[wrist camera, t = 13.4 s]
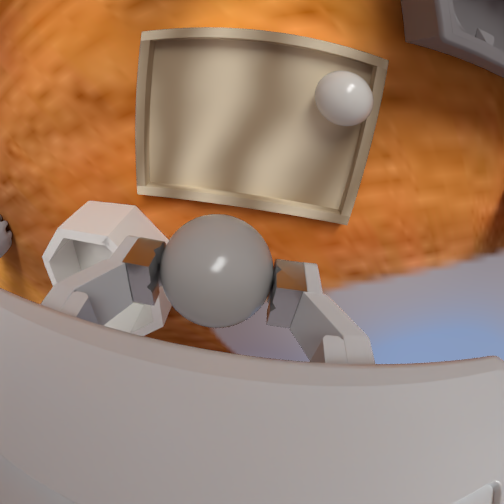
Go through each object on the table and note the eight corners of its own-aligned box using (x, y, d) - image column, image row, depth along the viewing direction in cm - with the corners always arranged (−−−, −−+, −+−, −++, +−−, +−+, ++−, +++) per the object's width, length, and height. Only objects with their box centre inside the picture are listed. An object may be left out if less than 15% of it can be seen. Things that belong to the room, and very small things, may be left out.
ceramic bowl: (87, 291, 32) (68, 319, 28) (62, 198, 24) (31, 223, 20) (180, 313, 32) (167, 348, 28) (174, 210, 24) (152, 243, 20)
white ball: (307, 115, 18) (313, 122, 15) (315, 66, 16) (324, 61, 13) (358, 127, 18) (374, 138, 15) (367, 79, 16) (387, 80, 13)
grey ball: (179, 269, 12) (152, 338, 9) (178, 189, 10) (135, 248, 7) (265, 283, 13) (261, 357, 9) (282, 204, 10) (286, 272, 7)
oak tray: (144, 187, 23) (137, 194, 22) (150, 33, 15) (141, 31, 14) (343, 216, 23) (347, 225, 22) (381, 61, 15) (388, 60, 14)
